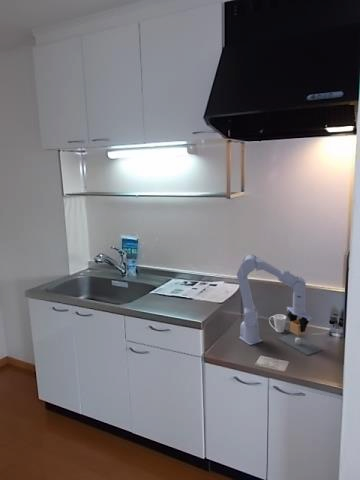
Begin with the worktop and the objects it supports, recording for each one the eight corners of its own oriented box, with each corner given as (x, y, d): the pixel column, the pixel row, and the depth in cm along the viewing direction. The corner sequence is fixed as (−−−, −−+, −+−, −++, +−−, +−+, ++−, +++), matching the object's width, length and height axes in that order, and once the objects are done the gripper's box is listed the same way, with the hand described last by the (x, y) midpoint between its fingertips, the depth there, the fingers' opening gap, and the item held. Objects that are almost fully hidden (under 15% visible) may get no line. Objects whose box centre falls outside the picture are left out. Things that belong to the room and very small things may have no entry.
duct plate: (277, 339, 193) (277, 333, 192) (292, 334, 197) (292, 328, 197) (307, 356, 175) (307, 349, 175) (322, 350, 180) (322, 344, 179)
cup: (282, 334, 197) (282, 320, 195) (265, 329, 204) (265, 315, 202) (289, 330, 202) (289, 316, 200) (272, 325, 209) (272, 311, 207)
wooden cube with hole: (289, 331, 186) (290, 321, 185) (298, 328, 188) (298, 319, 187) (298, 335, 181) (298, 325, 180) (306, 332, 183) (306, 323, 182)
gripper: (316, 306, 177) (315, 332, 180) (294, 296, 189) (293, 322, 192) (305, 309, 174) (304, 336, 177) (283, 299, 186) (283, 325, 189)
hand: (298, 329), depth 184 cm, fingers closed on wooden cube with hole, 5 cm apart
